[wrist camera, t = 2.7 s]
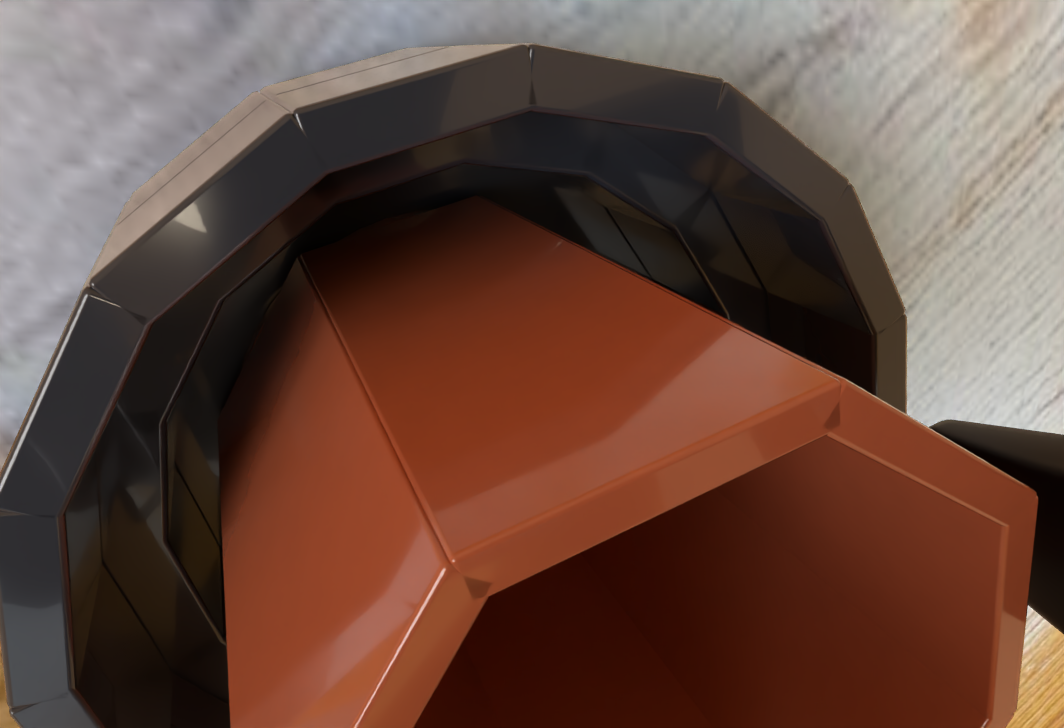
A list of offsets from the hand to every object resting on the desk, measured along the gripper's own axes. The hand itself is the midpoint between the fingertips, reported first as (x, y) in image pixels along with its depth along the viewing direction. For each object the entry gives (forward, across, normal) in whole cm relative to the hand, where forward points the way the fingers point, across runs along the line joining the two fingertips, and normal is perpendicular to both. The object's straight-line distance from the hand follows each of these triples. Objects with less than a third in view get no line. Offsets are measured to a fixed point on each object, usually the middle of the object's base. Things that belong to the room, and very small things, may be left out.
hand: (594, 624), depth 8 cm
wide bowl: (+6, 0, 0) cm, 6 cm away
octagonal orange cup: (+6, 0, 0) cm, 6 cm away
